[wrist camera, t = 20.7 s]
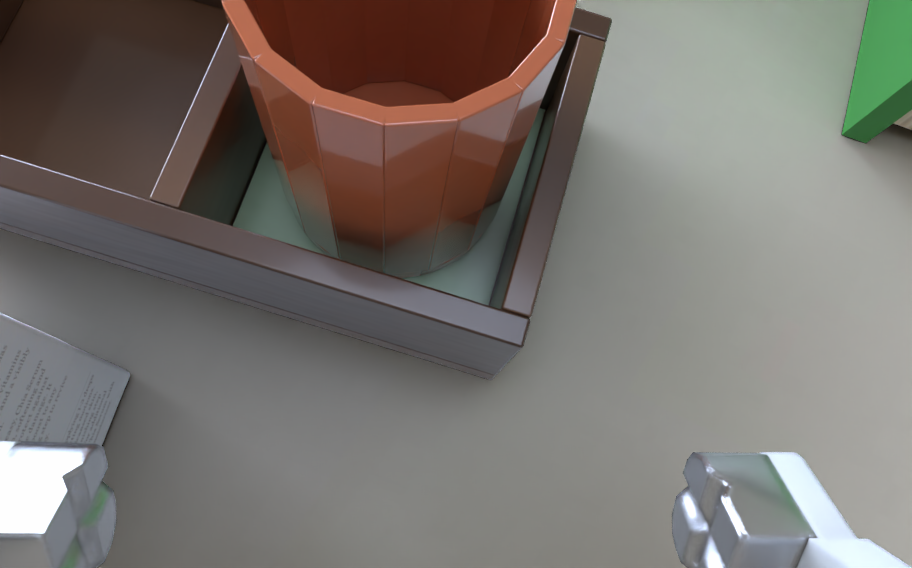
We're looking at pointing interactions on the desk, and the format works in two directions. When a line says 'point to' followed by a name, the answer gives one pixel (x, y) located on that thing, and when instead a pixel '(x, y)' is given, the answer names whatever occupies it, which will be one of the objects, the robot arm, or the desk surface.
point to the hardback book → (882, 72)
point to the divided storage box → (249, 178)
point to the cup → (397, 115)
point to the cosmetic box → (54, 388)
